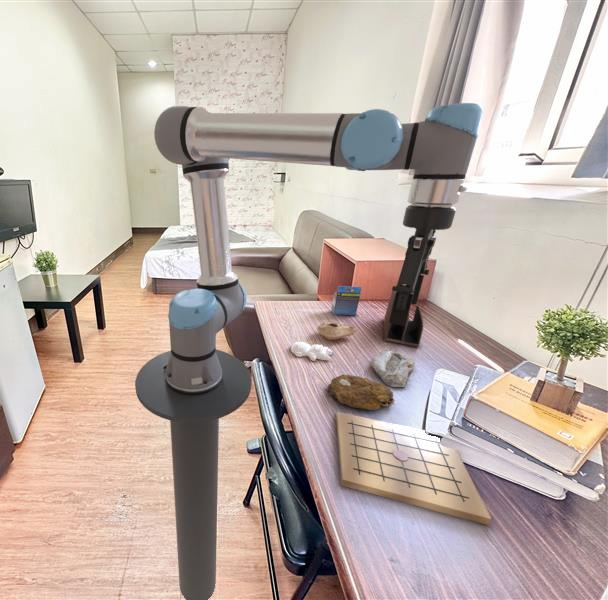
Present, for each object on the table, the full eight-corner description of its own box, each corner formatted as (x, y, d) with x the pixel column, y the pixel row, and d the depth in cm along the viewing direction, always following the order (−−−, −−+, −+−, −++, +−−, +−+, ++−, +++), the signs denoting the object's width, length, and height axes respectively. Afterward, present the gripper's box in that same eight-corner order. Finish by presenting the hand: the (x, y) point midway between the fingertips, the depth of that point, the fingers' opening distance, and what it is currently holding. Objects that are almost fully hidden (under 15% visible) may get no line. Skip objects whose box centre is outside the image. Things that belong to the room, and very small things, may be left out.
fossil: (380, 352, 98) (381, 343, 97) (416, 362, 92) (418, 353, 91) (362, 378, 86) (364, 369, 85) (402, 392, 80) (405, 382, 79)
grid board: (341, 485, 56) (342, 479, 55) (335, 416, 72) (337, 411, 71) (488, 525, 49) (492, 518, 49) (447, 440, 65) (449, 434, 65)
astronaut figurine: (327, 365, 91) (328, 356, 90) (287, 353, 97) (288, 345, 96) (333, 352, 98) (334, 343, 97) (295, 342, 104) (296, 334, 103)
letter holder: (383, 340, 105) (393, 302, 99) (384, 318, 121) (392, 284, 116) (418, 348, 100) (430, 308, 95) (413, 324, 116) (423, 289, 111)
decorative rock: (382, 387, 82) (323, 384, 84) (384, 374, 81) (325, 371, 83) (401, 416, 71) (334, 411, 73) (405, 401, 70) (336, 397, 72)
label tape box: (353, 311, 127) (358, 283, 122) (356, 316, 123) (362, 287, 118) (330, 310, 128) (335, 282, 123) (333, 315, 124) (338, 286, 119)
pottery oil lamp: (360, 343, 102) (358, 329, 98) (322, 349, 106) (319, 336, 102) (353, 323, 109) (351, 310, 105) (318, 330, 113) (314, 317, 108)
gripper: (452, 212, 44) (415, 341, 52) (460, 201, 62) (432, 299, 70) (393, 209, 49) (368, 328, 57) (417, 200, 67) (395, 292, 75)
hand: (403, 312), depth 64 cm, fingers open, 13 cm apart
